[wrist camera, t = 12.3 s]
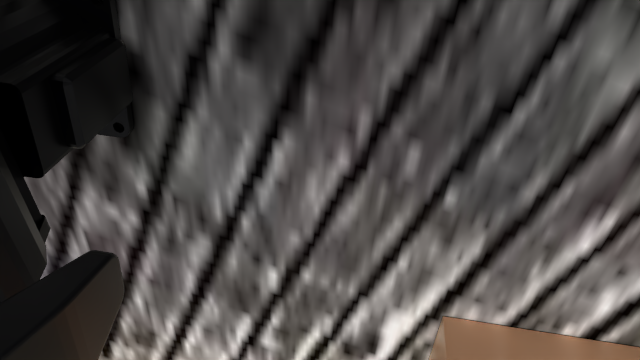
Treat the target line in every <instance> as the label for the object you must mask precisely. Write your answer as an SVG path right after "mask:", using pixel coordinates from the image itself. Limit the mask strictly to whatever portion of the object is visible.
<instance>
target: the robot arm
mask: <svg viewBox="0 0 640 360" xmlns="http://www.w3.org/2000/svg"><path fill="white" fill-rule="evenodd" d="M132 101H133V95H132V88H131V81H130V74H129V68H128V61H127V54H126V47H125V45H124V43H123V42H122V40H121V37H120V30H119V24H118V17H117V10H116V4H115V0H103V3H101V2H99V1H98V0H0V360H98V359H99V356H100V354H101V351H102V349H103V347H104V344H105V342H106V339H107V337H108V334H109V332H110V330H111V327H112V325H113V322H114V320H115V317H116V315H117V313H118V310H119V308H120V305H121V303H122V300H123V296H124V283H123V278H122V273H121V268H120V263H119V259H118V257H117V256H116V255H115V254H113V253H109V252H103V251H97V250H93V251H89V252H87V253H85V254H83V255H82V256H80V257H78V258H77V259H75V260H73V261H71V262H70V263H68V264H66V265H65V266H63V267H61V268H59V269H58V270H56V271H54V272H53V273H51V274H49V275H47V276H46V277H44V278H42V279H41V280H40V278H41V276H42V274H43V271H44V269H45V267H46V265H47V258H46V245H45V241H46V239H47V236H48V233H49V231H50V226H49V224H48V222H47V219H46V217H45V216H44V215H41V214H40V212H39V210H38V208H37V205H36V203H35V201H34V199H33V197H32V195H31V193H30V190H29V188H28V186H27V184H26V182H25V180H24V177H32V178H42V177H43V176H44V175H45V174H46V173H47V172H48V171H49V170H50V169H51V168H52V167H54V166H55V165H56V164H57V163H58V162H59V161H60V160H61V159H62V158H63V157H64V156H66V155H67V154H68V153H69V152H70V151H71V150H72V149H73V148H77V149H81V148H83V147H84V146H85V145H86V144H87V143H88V142H89V141H90V140H91V139H93V138H94V137H95V136H96V135H97V134H99V135H106V136H113V137H126V136H128V135H129V134H130V133H131V132H132V130H133V127H134V124H133V117H132V110H131V104H130V103H131V102H132ZM117 122H118V123H121V124H122V125H123V126H124V128H121V127H120V126H119V125H118V123H117Z"/></svg>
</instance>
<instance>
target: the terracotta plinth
mask: <svg viewBox="0 0 640 360" xmlns="http://www.w3.org/2000/svg"><path fill="white" fill-rule="evenodd" d="M429 360H640V347H634V346H627V345H621V344H615V343H608V342H602V341H596V340H590V339H583V338H577V337H571V336H564V335H558V334H552V333H545V332H539V331H533V330H526V329H520V328H514V327H508V326H501V325H495V324H489V323H482V322H476V321H470V320H463V319H457V318H451V317H444V316H443V317H442V320H441V324H440V327H439V330H438V333H437V336H436V339H435V342H434V345H433V348H432V351H431V354H430V357H429Z"/></svg>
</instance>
